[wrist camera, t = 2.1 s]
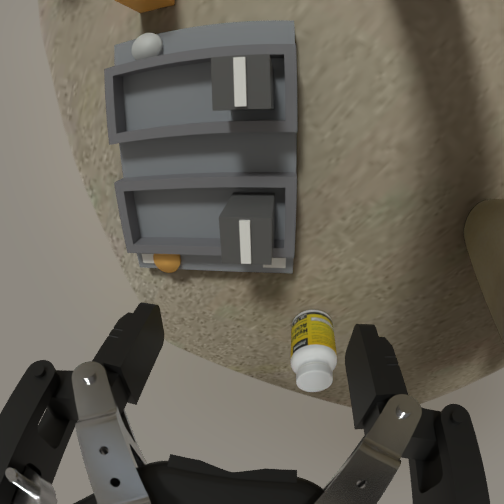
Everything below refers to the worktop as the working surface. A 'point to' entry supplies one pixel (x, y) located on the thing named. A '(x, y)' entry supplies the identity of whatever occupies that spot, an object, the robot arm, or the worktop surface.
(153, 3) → the block
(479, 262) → the plant pot
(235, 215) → the knob tagged
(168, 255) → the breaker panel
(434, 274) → the worktop surface
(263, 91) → the knob
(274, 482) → the robot arm
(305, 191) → the worktop surface
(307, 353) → the supplement bottle
